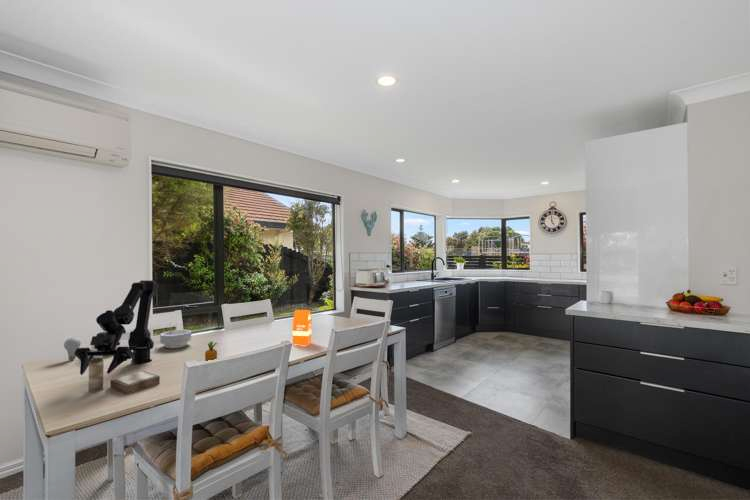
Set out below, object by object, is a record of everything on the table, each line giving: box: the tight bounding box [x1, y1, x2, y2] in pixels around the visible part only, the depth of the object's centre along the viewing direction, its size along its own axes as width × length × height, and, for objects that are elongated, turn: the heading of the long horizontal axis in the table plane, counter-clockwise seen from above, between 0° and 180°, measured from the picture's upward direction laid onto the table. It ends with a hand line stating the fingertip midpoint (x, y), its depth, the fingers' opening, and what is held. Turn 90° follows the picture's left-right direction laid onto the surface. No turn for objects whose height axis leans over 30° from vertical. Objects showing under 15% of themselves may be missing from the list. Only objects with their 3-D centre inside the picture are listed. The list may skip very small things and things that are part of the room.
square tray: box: [110, 370, 161, 395], centre depth 138 cm, size 12×12×3 cm
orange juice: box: [292, 309, 312, 346], centre depth 201 cm, size 8×9×20 cm
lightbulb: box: [63, 337, 82, 361], centre depth 168 cm, size 6×6×11 cm
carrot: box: [204, 340, 218, 361], centre depth 150 cm, size 5×5×15 cm
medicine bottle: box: [91, 331, 117, 360], centre depth 175 cm, size 7×7×12 cm
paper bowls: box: [159, 329, 192, 349], centre depth 194 cm, size 15×15×8 cm
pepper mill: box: [88, 358, 105, 393], centre depth 133 cm, size 4×4×12 cm
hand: (94, 373), depth 132 cm, fingers open, 9 cm apart
